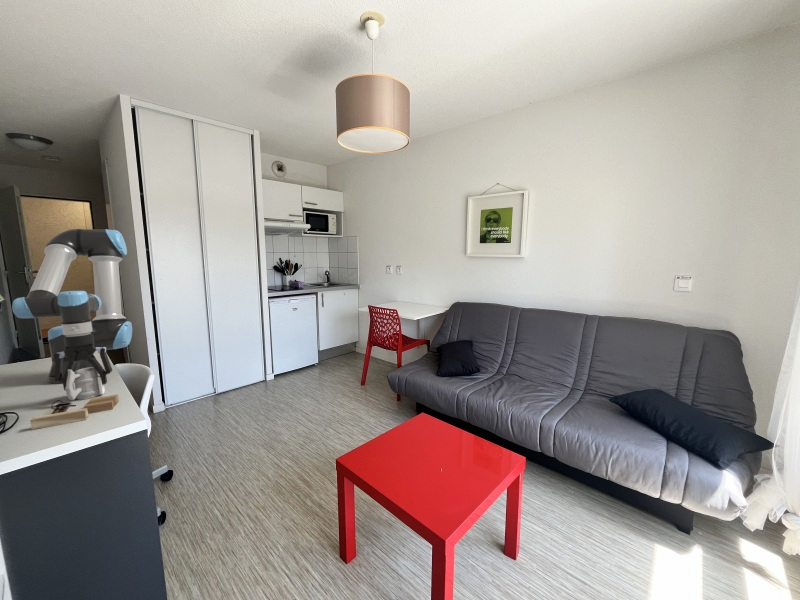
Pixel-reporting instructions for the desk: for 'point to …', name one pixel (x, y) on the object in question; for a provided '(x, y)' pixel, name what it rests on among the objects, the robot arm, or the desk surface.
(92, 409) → the slab
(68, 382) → the mug
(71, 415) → the rail
